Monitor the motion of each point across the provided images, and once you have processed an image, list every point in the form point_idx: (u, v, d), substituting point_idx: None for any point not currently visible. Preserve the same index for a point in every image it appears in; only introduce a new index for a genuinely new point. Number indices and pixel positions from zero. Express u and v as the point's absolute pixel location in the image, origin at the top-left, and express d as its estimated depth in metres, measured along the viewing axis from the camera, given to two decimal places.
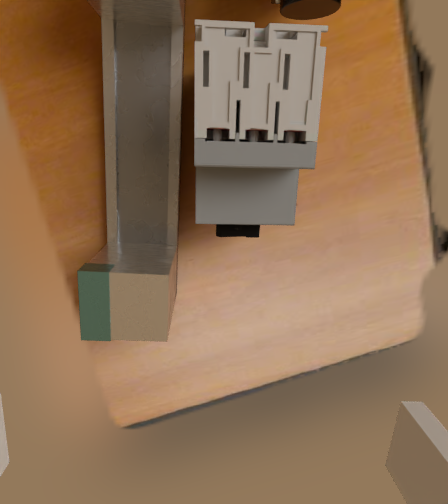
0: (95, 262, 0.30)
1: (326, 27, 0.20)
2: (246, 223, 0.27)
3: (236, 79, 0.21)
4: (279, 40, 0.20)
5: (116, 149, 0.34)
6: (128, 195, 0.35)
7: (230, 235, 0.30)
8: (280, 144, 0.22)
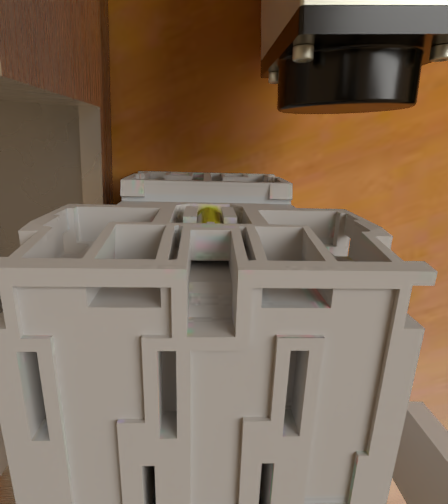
0: None
1: (430, 275, 0.06)
2: None
3: (137, 414, 0.07)
4: (272, 311, 0.06)
5: None
6: None
7: None
8: None
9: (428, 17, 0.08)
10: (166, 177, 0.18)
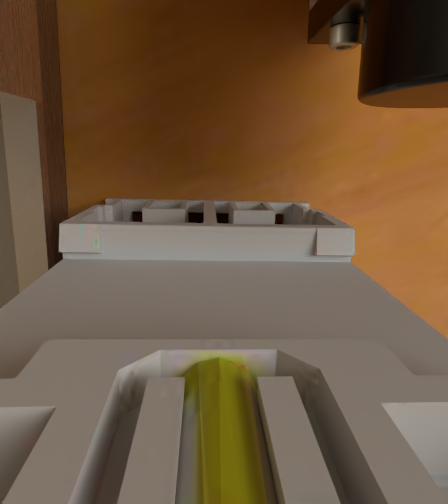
0: None
1: None
2: None
3: None
4: None
5: None
6: None
7: None
8: None
9: None
10: (145, 212, 0.11)
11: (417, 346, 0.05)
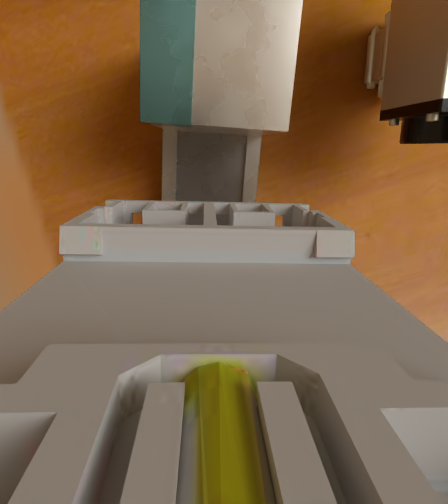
0: None
1: None
2: None
3: None
4: None
5: None
6: None
7: None
8: None
9: None
10: (145, 213, 0.11)
11: (416, 349, 0.05)
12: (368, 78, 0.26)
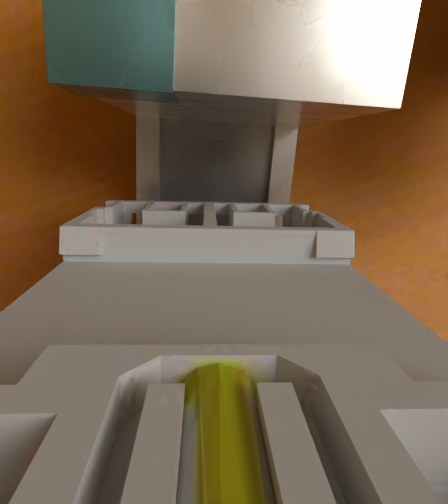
0: None
1: None
2: None
3: None
4: None
5: None
6: None
7: None
8: None
9: None
10: (145, 213, 0.11)
11: (416, 350, 0.05)
12: None
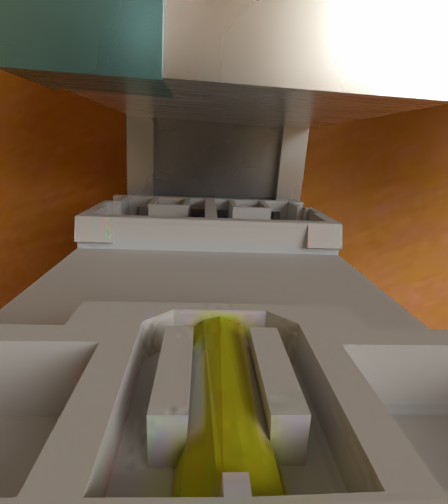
0: None
1: None
2: None
3: None
4: None
5: None
6: None
7: None
8: None
9: None
10: (150, 207, 0.12)
11: (388, 321, 0.06)
12: None
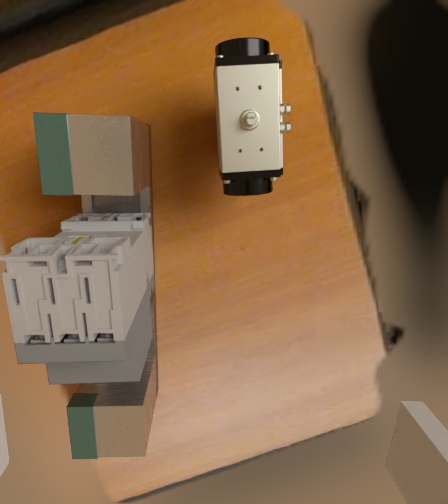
0: (82, 391, 0.36)
1: (115, 256, 0.23)
2: (95, 382, 0.30)
3: (44, 297, 0.24)
4: (76, 267, 0.23)
5: None
6: None
7: None
8: (91, 344, 0.25)
9: (261, 173, 0.28)
10: (88, 218, 0.35)
11: None
12: None
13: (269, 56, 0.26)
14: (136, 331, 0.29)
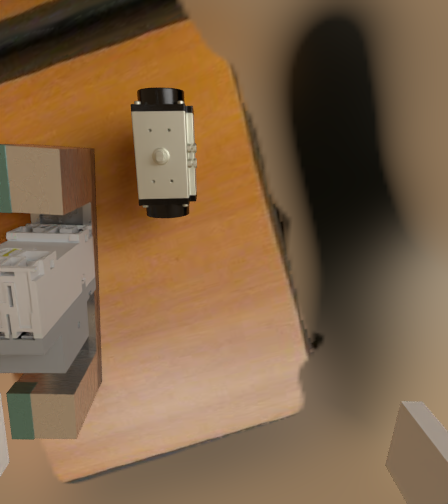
0: (23, 380, 0.41)
1: (33, 269, 0.28)
2: (27, 372, 0.35)
3: None
4: (1, 277, 0.28)
5: None
6: None
7: None
8: (15, 340, 0.30)
9: (171, 201, 0.33)
10: (33, 228, 0.40)
11: (58, 253, 0.34)
12: None
13: (176, 105, 0.31)
14: (62, 330, 0.34)
